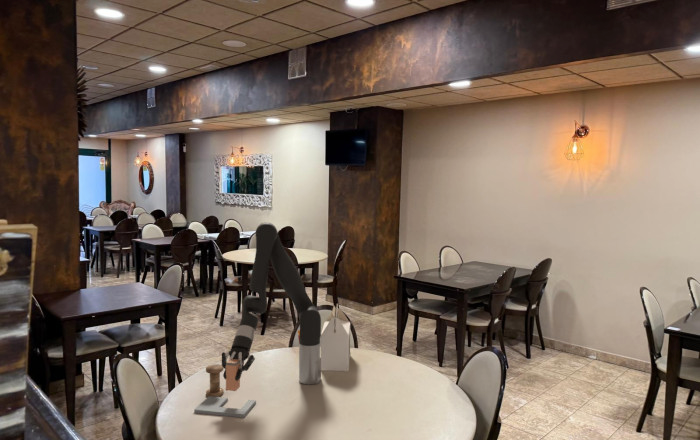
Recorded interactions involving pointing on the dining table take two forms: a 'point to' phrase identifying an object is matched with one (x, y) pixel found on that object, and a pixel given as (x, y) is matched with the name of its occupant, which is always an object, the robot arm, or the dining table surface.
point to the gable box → (335, 342)
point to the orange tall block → (232, 374)
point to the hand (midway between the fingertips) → (231, 379)
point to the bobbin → (214, 380)
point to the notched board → (215, 407)
